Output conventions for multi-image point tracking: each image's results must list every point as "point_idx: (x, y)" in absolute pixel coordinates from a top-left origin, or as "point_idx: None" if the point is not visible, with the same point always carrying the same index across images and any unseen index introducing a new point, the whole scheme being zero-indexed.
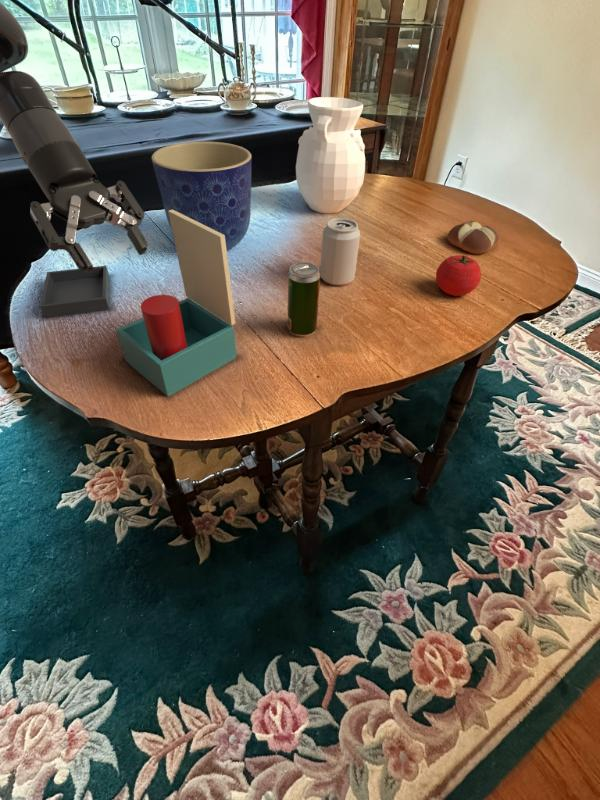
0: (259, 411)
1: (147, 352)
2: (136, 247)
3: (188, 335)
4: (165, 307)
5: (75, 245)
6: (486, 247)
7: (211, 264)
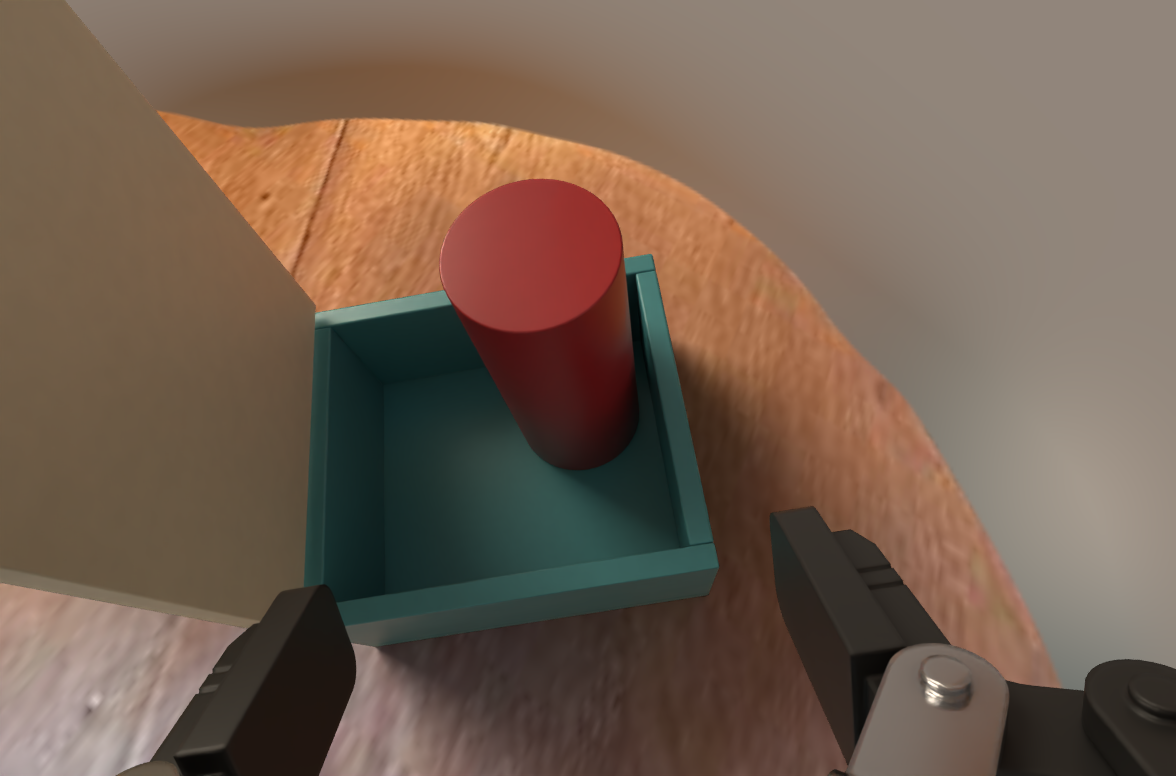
0: (475, 170)
1: (660, 337)
2: (331, 699)
3: (427, 578)
4: (521, 216)
5: (890, 629)
6: None
7: (148, 207)
